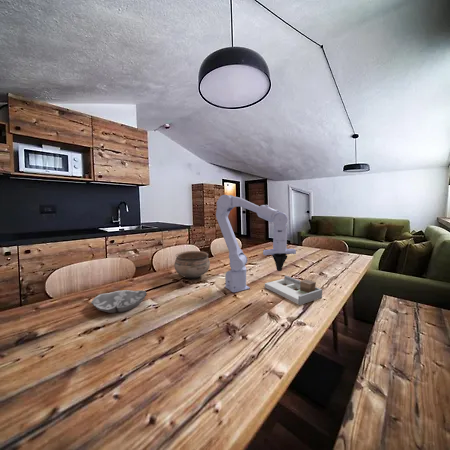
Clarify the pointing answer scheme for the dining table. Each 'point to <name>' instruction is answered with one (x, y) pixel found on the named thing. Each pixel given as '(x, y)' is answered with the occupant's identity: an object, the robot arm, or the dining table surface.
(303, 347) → the dining table surface
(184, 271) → the cooking pot
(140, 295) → the brain slice
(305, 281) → the walnut block
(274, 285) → the board
